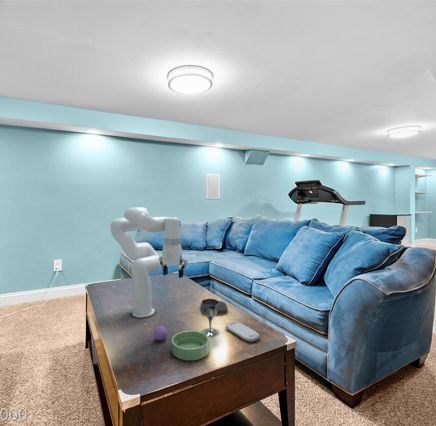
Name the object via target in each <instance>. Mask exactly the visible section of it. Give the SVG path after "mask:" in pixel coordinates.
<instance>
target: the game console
mask: <svg viewBox="0 0 436 426" xmlns="http://www.w3.org/2000/svg"><path fill="white" fill-rule="evenodd" d="M225 328H226V329H227V330H228V331H229V332H231V333H233V334H234V335H236V336H238V337H239V338H241V339H242V340H244V341H246V342H250V343H251V342H256V341H258V340H259V338H260V334H259V333H258V332H257V331H256V330H254V329H253V328H250V327H248V326H247V325H245V324H243V323H242V322H238V321H230V322H227V323H226V325H225Z"/></svg>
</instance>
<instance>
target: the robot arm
mask: <svg viewBox="0 0 436 426" xmlns="http://www.w3.org/2000/svg"><path fill="white" fill-rule="evenodd" d="M109 227H110V233H111V235H112V237H113V239H114V240H115V241H116V242H117V244H118V245H119V246H120V247H121V249H122V251H123V252H124V254H125V256H126V257H127V258H128V260H130V261H133V262H132V264H131V270H132V273H133V284H134V285H133V288H134V289H133V290H134V293H133V294H134V304H133V305H127V307H126V308H127V310H128V311H131V314H132V315H131V316H133V317H134V318H138V319H140V318H143V319H144V318H149V317H151V316H153V315H155V313H156V310H155V309H154V308H153V299H152V298H153V295H152V293H153V292H152V291H153V289H152V280H151V277H149V274H152V273H156V272H159V271H160V270H161V269H162V276H167V275H168V274H169V267H168V266H171V267H177V268H178V270H177V271H178V278H179V279H181V278H184V274H185V273H184V270H185V268H187V265H188V263H189V261H188V259H185V257H183V256H184V255H183V248H182V244H181V232H180V231H181V230H180V229H181V228H180V218H179V217H175V216H173V217H172V216H171V217H170V216H153V217H152V216H151V214H150V212H149V210H148V209H147V208H146V207H143V206H142V207H141V206H138V207H137V206H136V207H129V208H126V210H125V211H124V212H123V217H120V218H115V219H113V220H112V221H111V222H110V226H109ZM139 229H141V230H143V231H145V232H149V233H159V232H164V239H163V240H162V241H163V242H164V244H163V246H162V251H161V252H162V253H161V256H159V255H158V253H157V251H156V250H155V249H154V247H153V246H152V245H151V244H150V243H149V242H145V241H143V242H137V241H136V240H135V239H134V238H133V236H132V235H131V234H129V233H127V232H135V231H138V230H139Z"/></svg>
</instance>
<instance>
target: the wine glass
mask: <svg viewBox="0 0 436 426" xmlns="http://www.w3.org/2000/svg"><path fill="white" fill-rule="evenodd" d="M218 301H219V300H218V299H214V298H204V299H203V300H201V303H202V310H203V313H202V314H203V315H204V317H206V319H207V320H208V325H209V328H206V329H204V330H203V331H202V333H204V334H206V335H207V336H208V337H214V336H217V335H218V334H219V331H218V330H217V329H214V328H212V321H213V320H214V318H215V317H216V316H217V315H218V314H217V312H218ZM202 310H201V311H202Z"/></svg>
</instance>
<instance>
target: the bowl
mask: <svg viewBox="0 0 436 426" xmlns="http://www.w3.org/2000/svg"><path fill="white" fill-rule="evenodd" d="M209 352H210V336H207V335H206V334H204V333H203V331H199V330H191V329H190V330H183V331H179V332H177V333H175V334H174V335H173V336H172V337H171V353H172V355H173V356H175V358H177V359H178V360H179V359H180V360H182V361H197V360H201V359H202V358H205V357H207V355H208V354H209Z"/></svg>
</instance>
